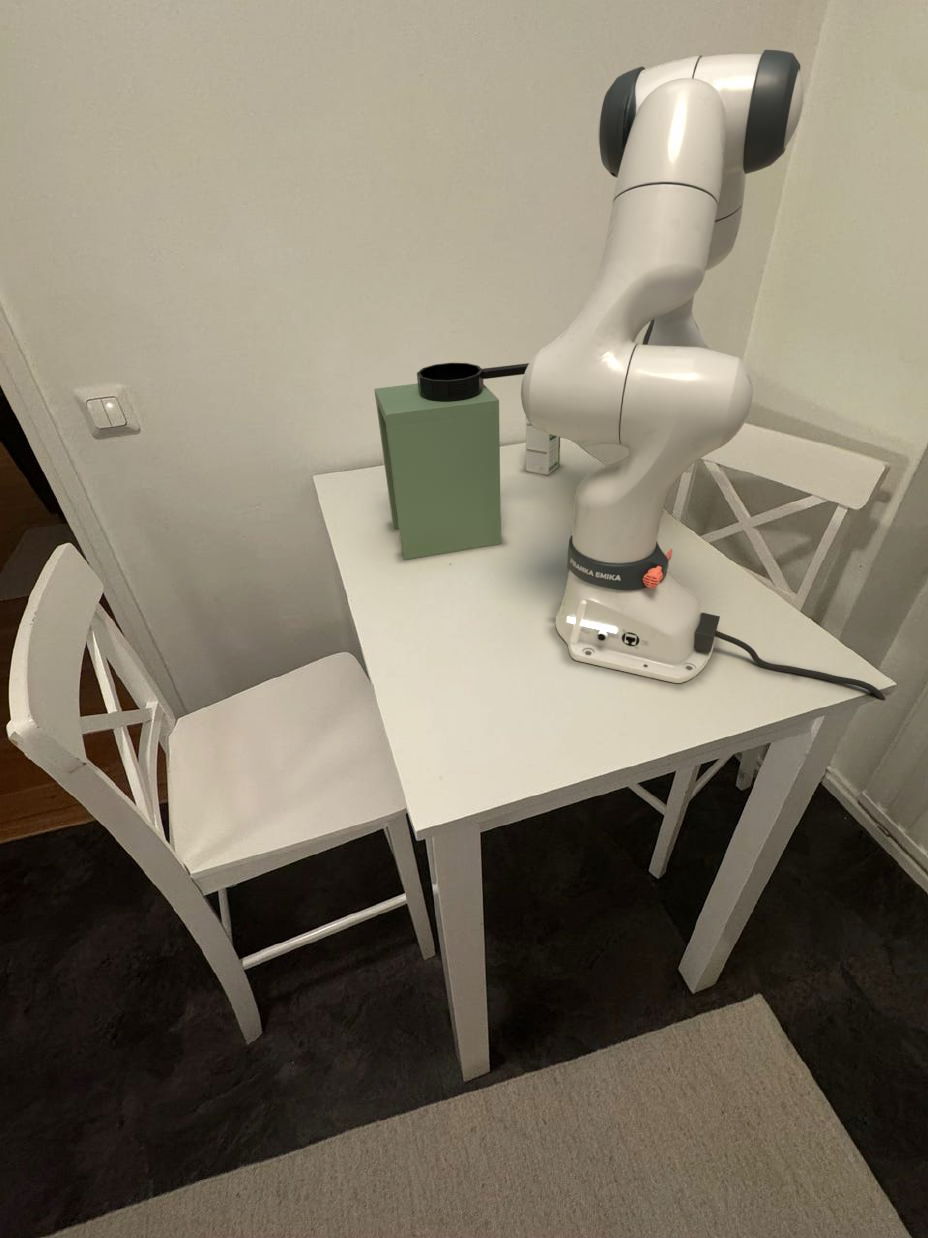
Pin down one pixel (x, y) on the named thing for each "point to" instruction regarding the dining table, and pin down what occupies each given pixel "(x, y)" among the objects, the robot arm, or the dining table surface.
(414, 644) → the dining table surface
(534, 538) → the dining table surface
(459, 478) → the green hollow pedestal
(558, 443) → the syrup box
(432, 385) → the pan
